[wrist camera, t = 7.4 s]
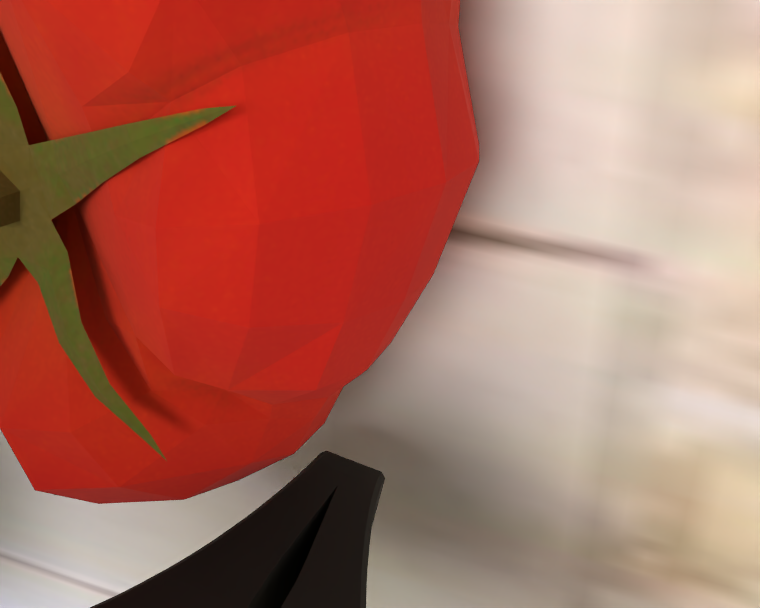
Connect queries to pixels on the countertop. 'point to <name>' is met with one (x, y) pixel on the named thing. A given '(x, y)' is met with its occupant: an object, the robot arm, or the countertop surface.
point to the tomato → (212, 224)
